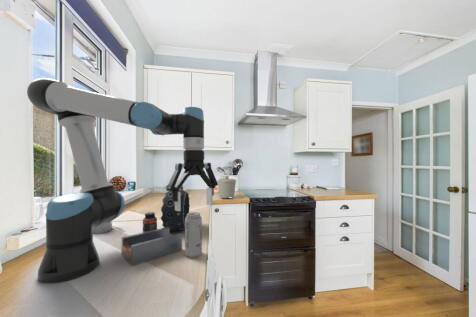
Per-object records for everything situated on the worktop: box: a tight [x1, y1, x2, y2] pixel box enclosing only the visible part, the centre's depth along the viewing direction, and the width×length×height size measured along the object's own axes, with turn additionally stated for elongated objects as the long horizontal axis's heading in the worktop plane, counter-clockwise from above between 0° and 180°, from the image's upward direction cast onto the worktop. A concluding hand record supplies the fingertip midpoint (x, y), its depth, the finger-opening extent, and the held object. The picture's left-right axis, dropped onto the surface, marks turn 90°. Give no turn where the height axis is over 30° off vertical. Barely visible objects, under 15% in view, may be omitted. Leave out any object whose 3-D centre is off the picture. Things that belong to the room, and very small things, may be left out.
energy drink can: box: [184, 211, 203, 259], centre depth 78 cm, size 6×6×15 cm
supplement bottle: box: [142, 211, 158, 233], centre depth 95 cm, size 6×6×11 cm
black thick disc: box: [160, 189, 191, 232], centre depth 107 cm, size 11×20×20 cm, turn 4°
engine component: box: [93, 220, 113, 234], centre depth 108 cm, size 11×20×10 cm
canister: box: [217, 175, 237, 199], centre depth 199 cm, size 18×18×21 cm
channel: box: [121, 227, 183, 266], centre depth 81 cm, size 18×12×6 cm, turn 134°
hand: (194, 207), depth 78 cm, fingers open, 13 cm apart
